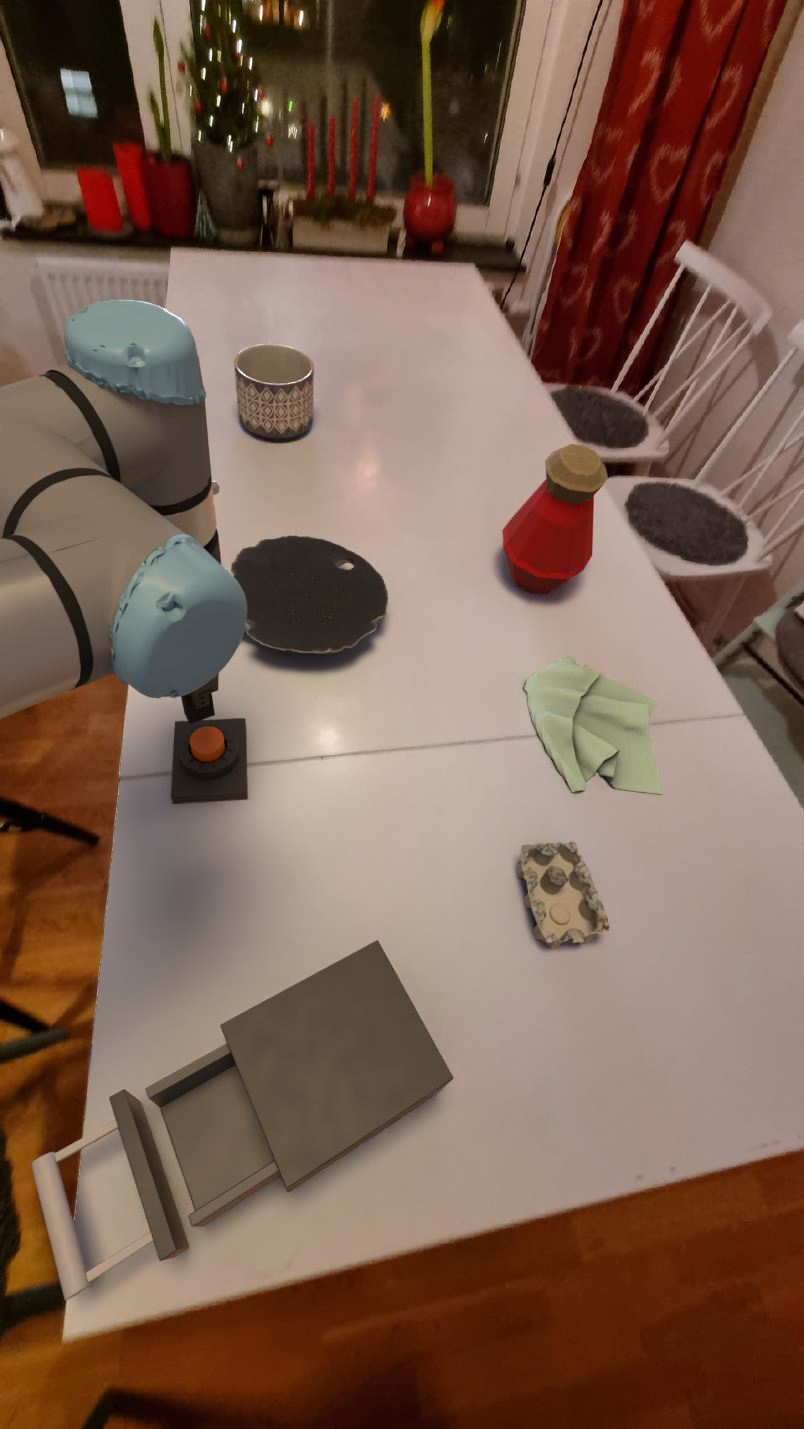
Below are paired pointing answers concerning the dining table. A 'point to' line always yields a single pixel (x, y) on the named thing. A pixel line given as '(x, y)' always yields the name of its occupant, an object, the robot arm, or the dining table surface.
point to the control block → (210, 764)
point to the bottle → (555, 522)
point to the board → (308, 595)
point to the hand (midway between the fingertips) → (199, 714)
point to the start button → (207, 744)
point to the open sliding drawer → (209, 1147)
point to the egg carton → (561, 894)
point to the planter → (274, 390)
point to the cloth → (593, 727)
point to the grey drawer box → (334, 1061)
